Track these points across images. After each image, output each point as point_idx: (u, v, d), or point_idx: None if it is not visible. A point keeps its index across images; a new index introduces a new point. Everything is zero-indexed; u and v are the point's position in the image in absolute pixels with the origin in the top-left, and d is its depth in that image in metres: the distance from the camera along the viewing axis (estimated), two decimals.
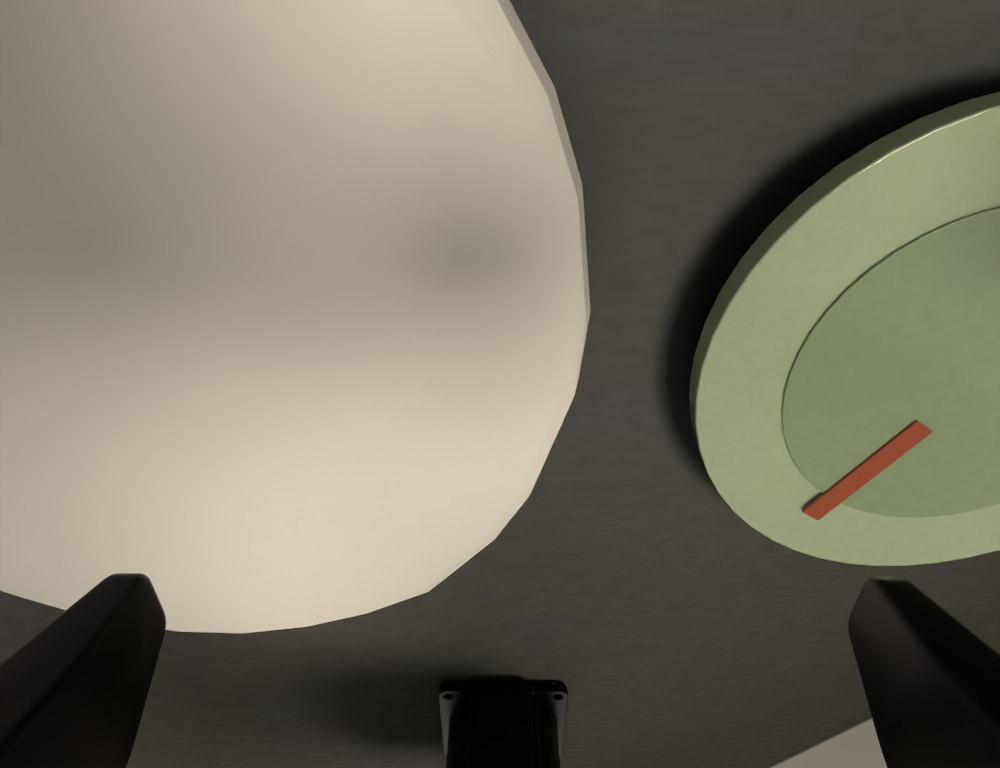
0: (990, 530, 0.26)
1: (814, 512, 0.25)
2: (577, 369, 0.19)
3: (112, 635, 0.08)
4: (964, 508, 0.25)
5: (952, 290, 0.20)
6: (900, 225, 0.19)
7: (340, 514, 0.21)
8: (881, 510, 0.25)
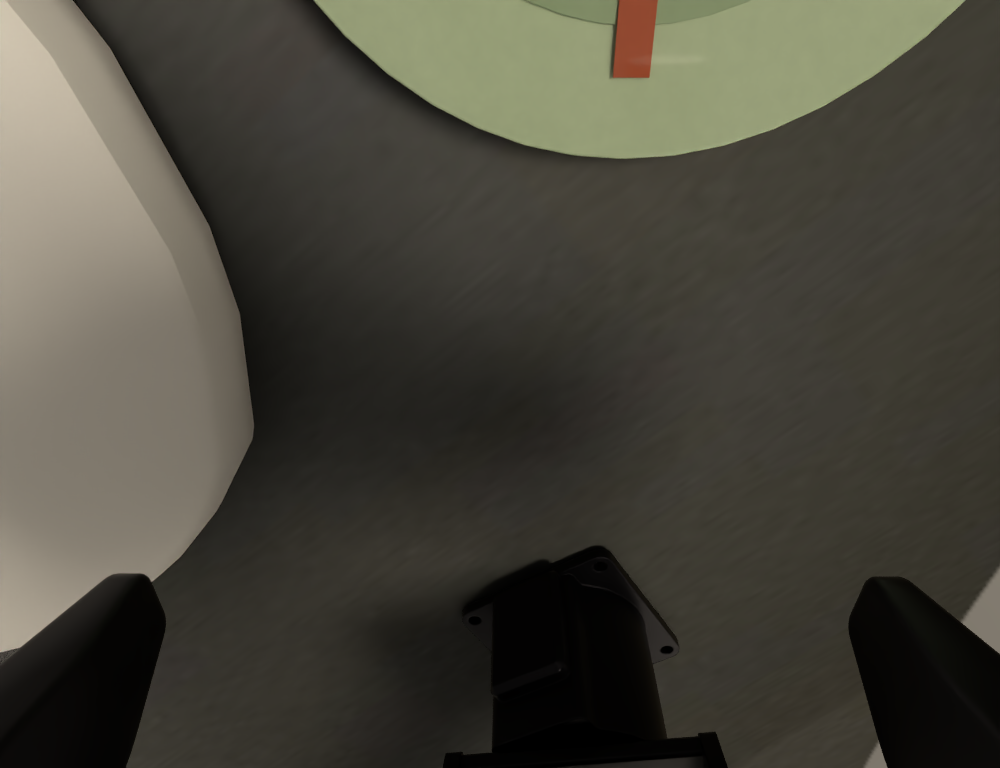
0: None
1: (634, 69, 0.15)
2: (4, 3, 0.13)
3: (112, 635, 0.08)
4: None
5: None
6: None
7: None
8: None
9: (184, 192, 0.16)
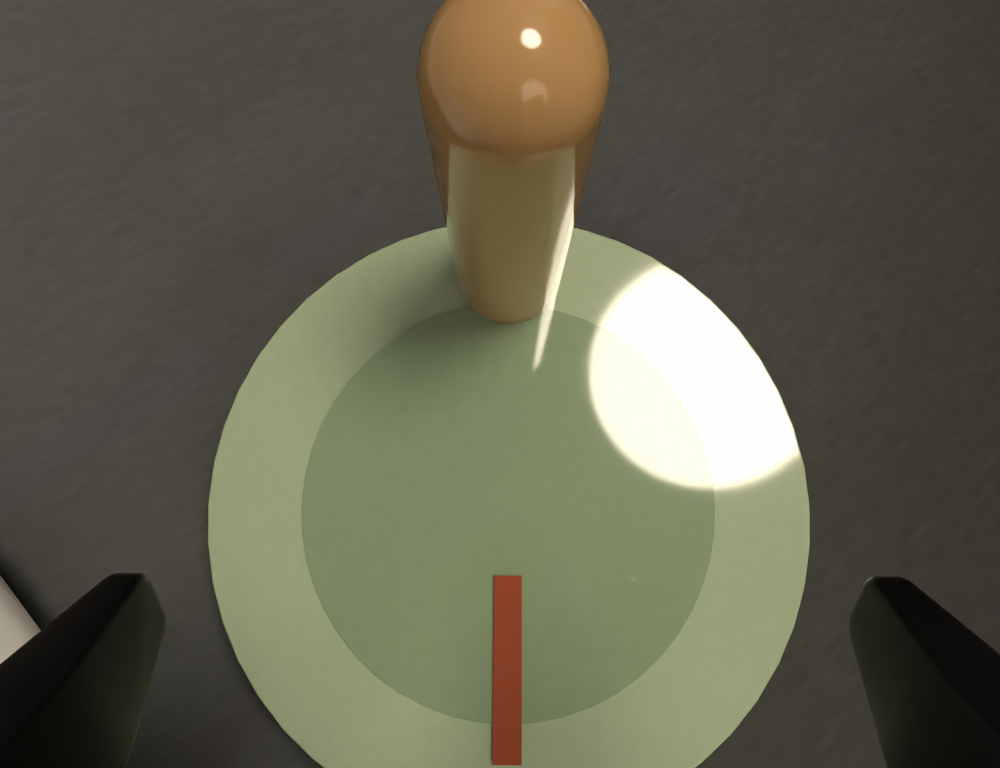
0: (734, 646, 0.20)
1: (509, 757, 0.19)
2: None
3: (112, 635, 0.08)
4: (666, 638, 0.20)
5: (394, 446, 0.21)
6: (296, 429, 0.21)
7: None
8: (581, 702, 0.19)
9: None
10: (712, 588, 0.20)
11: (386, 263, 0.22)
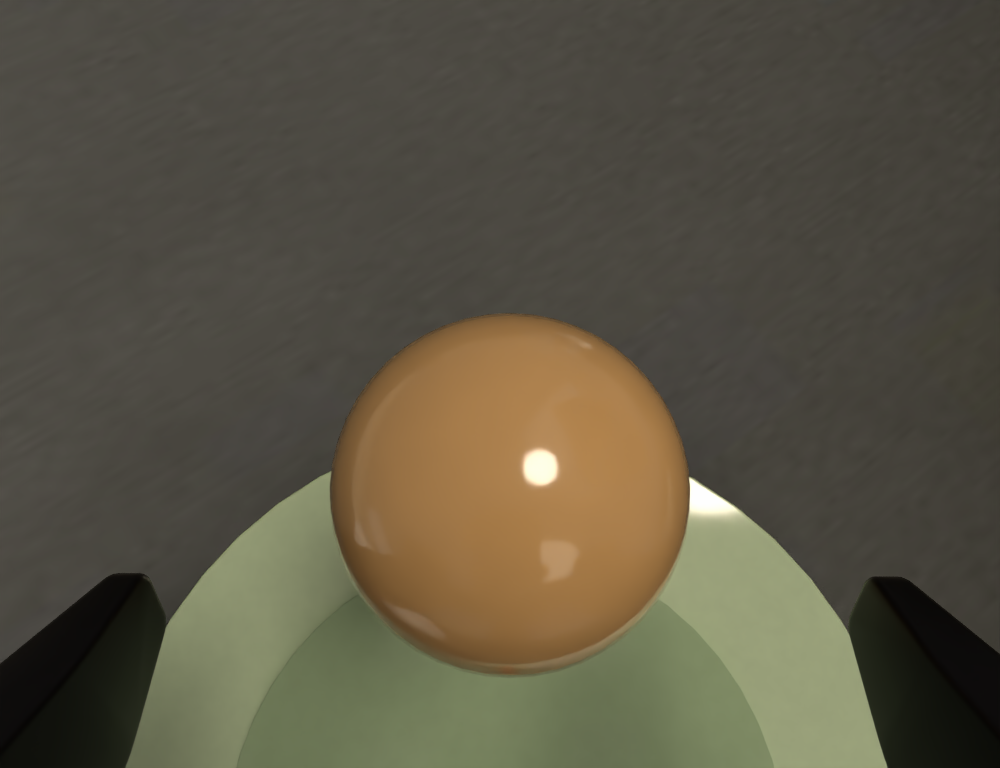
0: None
1: None
2: None
3: (112, 635, 0.08)
4: None
5: (351, 749, 0.15)
6: (219, 726, 0.15)
7: None
8: None
9: None
10: None
11: None
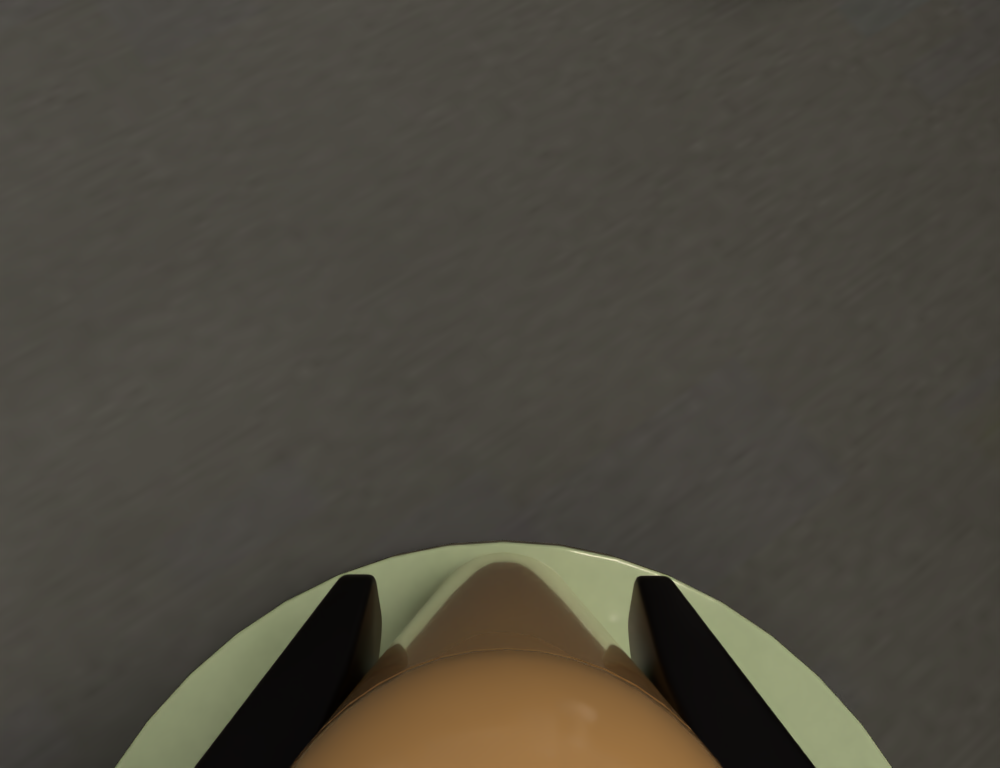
0: None
1: None
2: None
3: (362, 636, 0.08)
4: None
5: None
6: None
7: None
8: None
9: None
10: None
11: None
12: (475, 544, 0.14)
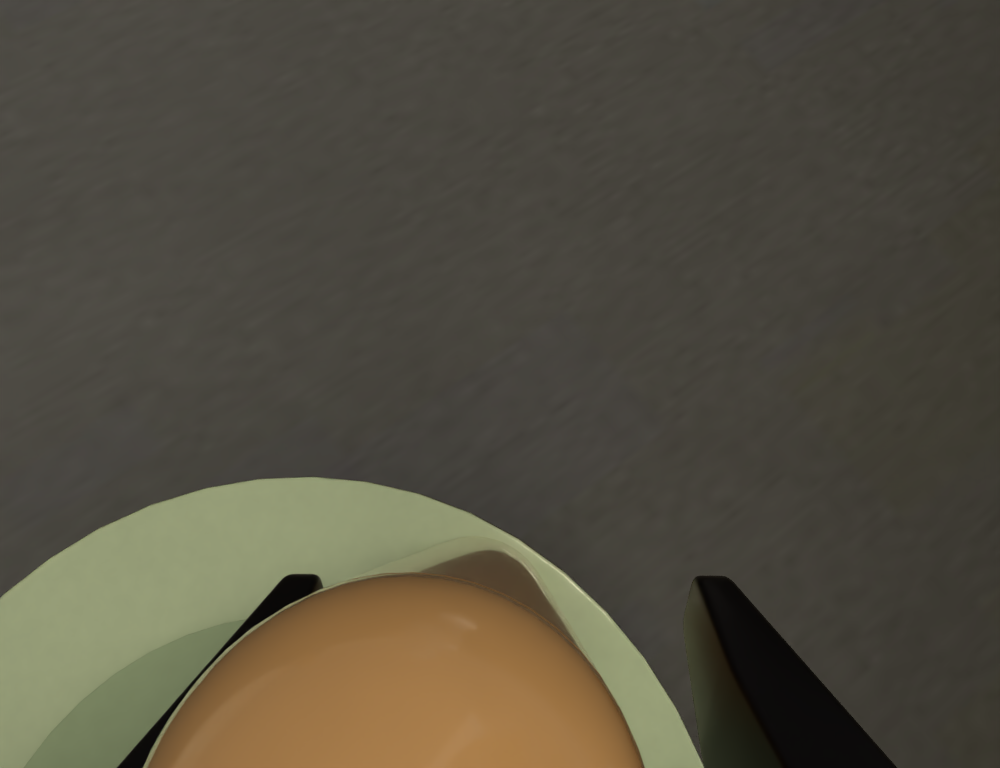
0: None
1: None
2: None
3: None
4: None
5: None
6: (81, 659, 0.14)
7: None
8: None
9: None
10: None
11: (328, 503, 0.15)
12: (493, 526, 0.15)
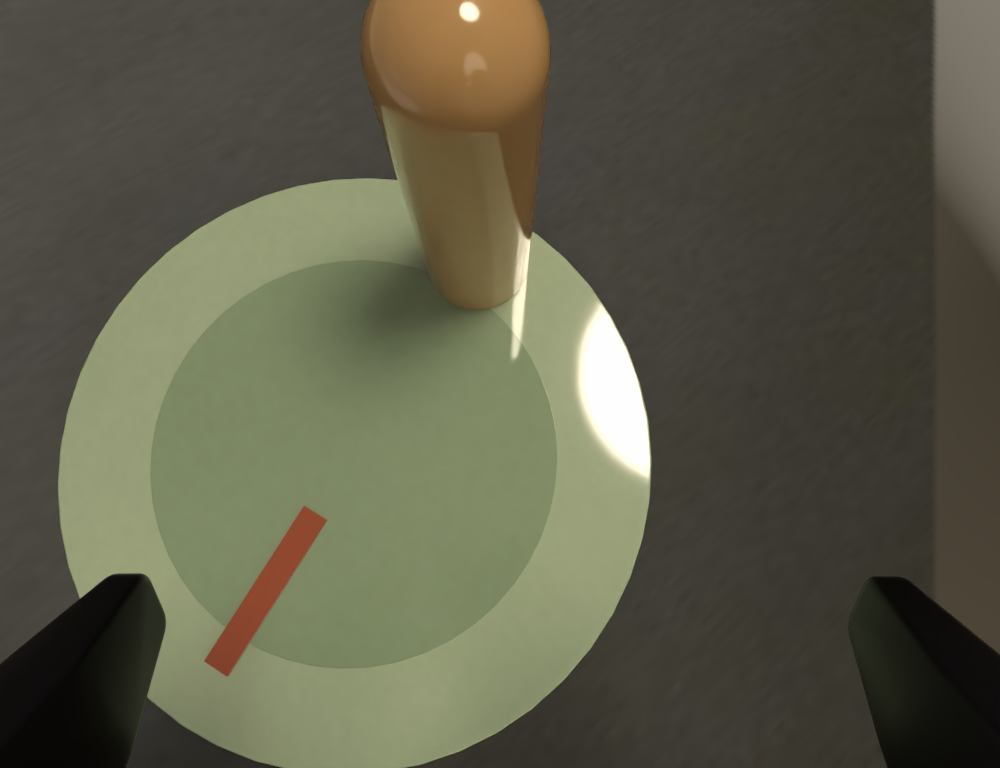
0: (469, 692, 0.19)
1: (222, 664, 0.20)
2: None
3: (112, 635, 0.08)
4: (414, 648, 0.20)
5: (292, 349, 0.21)
6: (222, 288, 0.21)
7: None
8: (309, 657, 0.20)
9: None
10: (481, 631, 0.20)
11: (381, 193, 0.22)
12: None
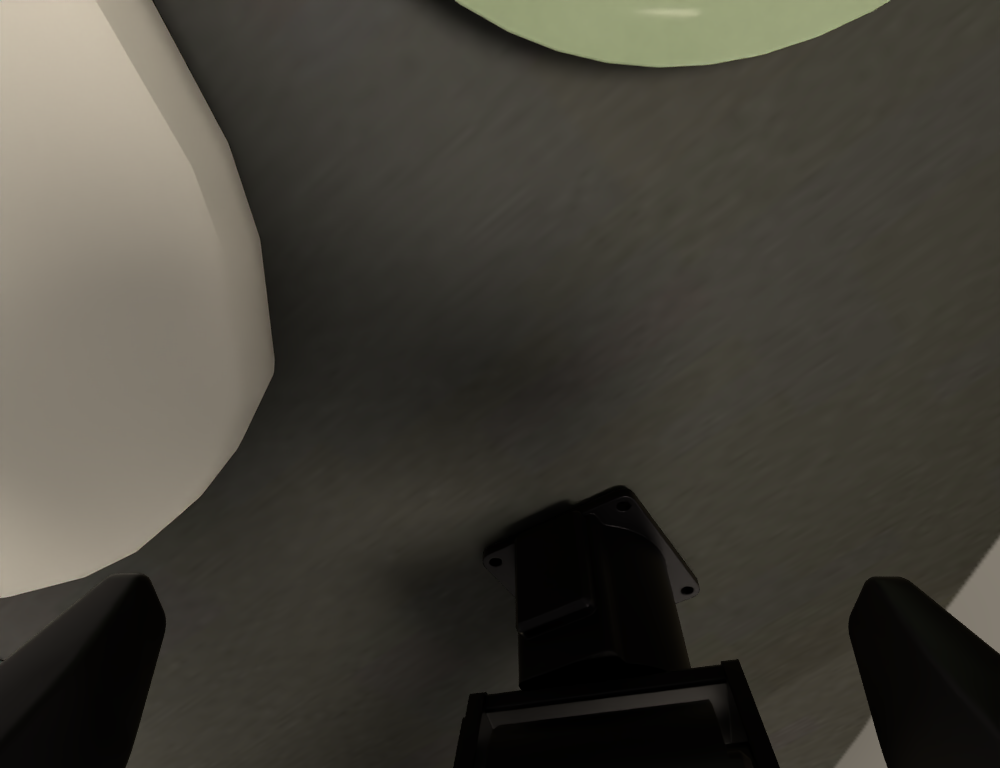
0: None
1: None
2: None
3: (112, 635, 0.08)
4: None
5: None
6: None
7: None
8: None
9: (203, 105, 0.16)
10: None
11: None
12: None
